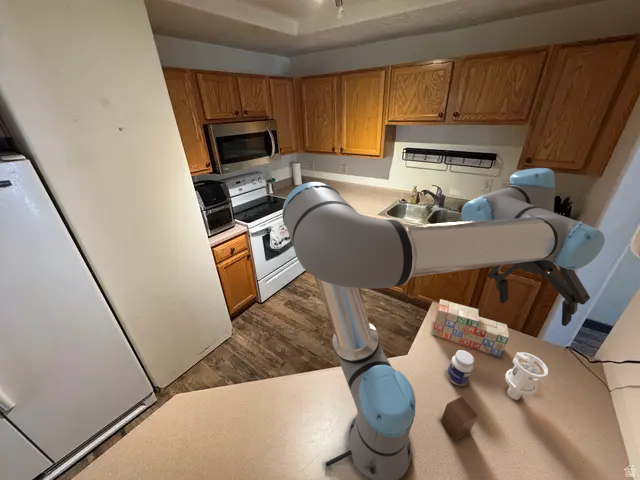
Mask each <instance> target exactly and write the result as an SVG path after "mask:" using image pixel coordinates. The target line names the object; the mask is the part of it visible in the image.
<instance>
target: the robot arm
mask: <svg viewBox="0 0 640 480" xmlns="http://www.w3.org/2000/svg"><path fill="white" fill-rule="evenodd" d="M555 179H556V178H555V172H554V170H552V169H551V168H547V167H534V168H527V169H522V170H518V171H515V172H514V173H513V174H511V175H510V177H509V182H508V184H509V186H506V187H505V188H501V189H497V190H495V191H492V192H490V193H486V194H483V195H479V196H478V197H476V198H474V199H471V200H469V201H467V202H465V204H464V205H463V206H462V207H461V220H462V221H456V222H441V223H424V224H410V225H409V224H408V225H405V224H404V223H402V221H400V220H398V219H393V218H392V219H377V218H372V217H369V216H365V215H364V214H361V213H359V212H358V211H356V209H355V208H354V207H353V206H352V205H351V204H350V203H348V201H347V200H345V198H343V197H342V195H341V194H340V192H339V191H338V190H337V189H336V188H334V187H332V186H330V185H329V184H326V183H323V182H320V181H309V182H306V183H303V184H300V185H298V186H297V187H295V188H294V189H293V190H291V191H290V193H289V194H288V195H287V196H286V198H285V201H284V202H283V205H282V222H283V224H284V226H285V228H286V231H287V233H288V235H289V238H290V241H291V244H292V247H293V249H294V253H295V256H296V258H297V260H298V262H299V264H300V265H301V267H302V269H304V270H305V271H307V272H308V273H309V274H310V275H311V276H313V278H314V281H315V284H316V286H317V289H318V291H319V294H320V297H321V299H322V302H323V305H324V309H325V311H326V312H327V316H328V318H329V322H330V324H331V326H332V329H333V336H332V346H333V350H334V353H335V356H336V357H337V360H338V363H339V365H340V367H341V371H342V373H343V376H344V378H345V381H346V383H347V387H348V389H349V391H350V394H351V397H352V399H353V402H354V405H355V408H356V412H357V415H355V417H354V418H353V419H352V421H351V424H350V426H349V429H348V436H347V445H348V451H346V452H344V453H342V454H339V455H338V456H335V457H333V458H332V459H329V460H327V461H325V467H326V468H328V467H330V466H332V465H334V464H336V463H338V462H340V461H342V460H344V459H346V458H348V457H350V459H351V460H352V462H353V464H354V465H355V468H357V470H358V471H359V472H360V474H362V475H363V476H364V477H365V478H366V479H368V480H400V479H402V478H403V477H404V475H405V474H406V473H407V471H408V469H409V467H410V462H411V458H412V444H411V439H410V436H409V435H410V432H411V429H412V426H413V423H414V420H415V416H416V403H417V402H416V395H415V391H414V389H413V385H412V384H411V382H410V380H409V379H408V378H407V377H406V376H405V374H403V373H402V372H401V371H400V370H396V369H394V368H395V367H393V366H392V364H391V363H390V361H389V359H388V357H387V355H386V353H385V352H384V350H383V348H382V345H381V341H380V337H379V333H378V331H377V328H376V327H375V326H374V325H373V324H372V323H371V322H369V317H368V315H367V310H366V306H365V302H364V298H363V293H362V290H361V289H366V290H367V289H389V288H395V287H402V286H404V285H406V284H407V283H408V282H409V281H410V279H411V278H414V277H423V276H429V275H437V274H447V273H452V272H460V271H467V270H468V271H469V270H476V269H482V268H483V269H484V268H491V270H490V271H489V273H488V275H487V276H488V278H489V279H493V280H494V281H495V285H496V287H495V288H496V291H498V292H499V303H500V304H503V305H504V304H505V303H506V302H507V301H508V300H509V298H510V297H509V279H507V277H508V276H510V275H511V274H513V273H514V272H515V271H517V270H518V269H520V270H522V272H526V273H531V274H534V275H540V277H542V278H543V279H545V280H547V281H548V282H549V284H550V285H551V286H552V287H553V288H554V289H555V290H556V291H557V292H558V294H560V296H561V297H562V298H563V299H564V300H563V301H562V302H561V303H562V305H561V306H562V307H561V326H564V327H566V326H568V325H569V324H570V323H571V321H572V318H573V317H572V316H574V315H575V314H576V313H577V311H578V307H579V306H578V305H579V304H580V305H585V304H586V303H587V302H588V301H589V300H590V299H591V296H590V294H589V293H588V291H587V289H586V287H585V286H584V285H583V283H582V281H581V279H580V278H579V276H578V275H577V273H576V270H580V269H581V268H584V267H586V266H588V265H589V264H590V263H592V262H593V261H594V260H595V259H596V258H597V257H598V255H599V254H600V253H601V251H602V250H603V247H604V246H605V241H606V239H605V235H604V232H602V231H601V230H600V229H597V228H595V227H593V226H591V225H588V224H586V223H584V221H581V220H579V221H578V220H575V219H573V218H570V217H568V216H564V215H561V214H558V213H555V198H556V197H555V196H556V189H557V186H556V182H555V181H556V180H555ZM506 265H512V266H510V267H508V268H507V269H506V270H505V271H503V272H502V273H500V271H501V269H502V268H503V266H506ZM554 266H555V267H556V268H555V267H554ZM557 271H559V272H560V274H561V275H560V274H559V273H558V272H557Z"/></svg>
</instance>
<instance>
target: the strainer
mask: <svg viewBox="0 0 640 480" xmlns="http://www.w3.org/2000/svg"><path fill="white" fill-rule="evenodd" d="M520 359H521V360H523V361H525V362H523V361H519V360H520ZM526 362H527V363H526ZM535 362H536V363H537V364H538V365H539V366H540V367H541V368H542V370H543V373H542V374H541V373H540V371H541V369H540V367H539V366H538V365H537V364H536V363H535ZM512 364H514V366H513V367H512V368H510V369H508V370H507V371H506V373H505V375H504V379H505V381H506V383H507V384H508V386H509V387H508V388H507V390H506V393H507V395H508V397H509V398H511V399H512V400H515V401H517V400H520V398H521V396H522V395H523V396H528V397H529V396H533V395H535V394H536V393H537V391H538V384H537V383H538V382H539V380H543V379H545V378H546V377H547V376H548V374H549V369H548V366H547V365H546V363H545V362H544V361H543V360H541V358H539V357H538V356H536V355H533V354H532V353H528V352H523V351H521V352H519V351H517V352H516V354H515V356H514V357H513V360H512Z"/></svg>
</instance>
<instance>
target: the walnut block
mask: <svg viewBox="0 0 640 480" xmlns="http://www.w3.org/2000/svg"><path fill="white" fill-rule="evenodd" d="M478 417H479V414H478V412H477V411H476V410H475V409H474V408H473V407H472V405H470V404H469V402H468V401H467V400H466V399H465V398H464V397H463V396H460V397H457V398H455V399H454V400H452V401H449V402H447V403H446V406H445V409H444V411H443V414H442V416H441V419H440V422H441V423H442V424H443V425H444V427H445V428H446V429H447V431H448V432H449V433H450V435H451V436H452V438H453V439H454V440H455V441H457V440H458V439H460V438H462V437H464V436H466V435H467V434H469V433H471V431H472V429H473V427H474V426H475V423H476V422H477V419H478Z"/></svg>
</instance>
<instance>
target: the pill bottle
mask: <svg viewBox="0 0 640 480" xmlns="http://www.w3.org/2000/svg"><path fill="white" fill-rule="evenodd" d="M474 361H475V359H474V357H473V354H471V353H470V352H469V351H466V350H464V349H459V350H457V351H456V352H455V355H453V356H452V357H451V359H450V363H449V365H448V369H447V371H446V376H447V378H448V380H449V381H450V382H451V383H452V384H453V385H456V386H458V387H462V386H466V385H467V384H468V382H469V379H470V377H471V375H472V372H473V370H474Z"/></svg>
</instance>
